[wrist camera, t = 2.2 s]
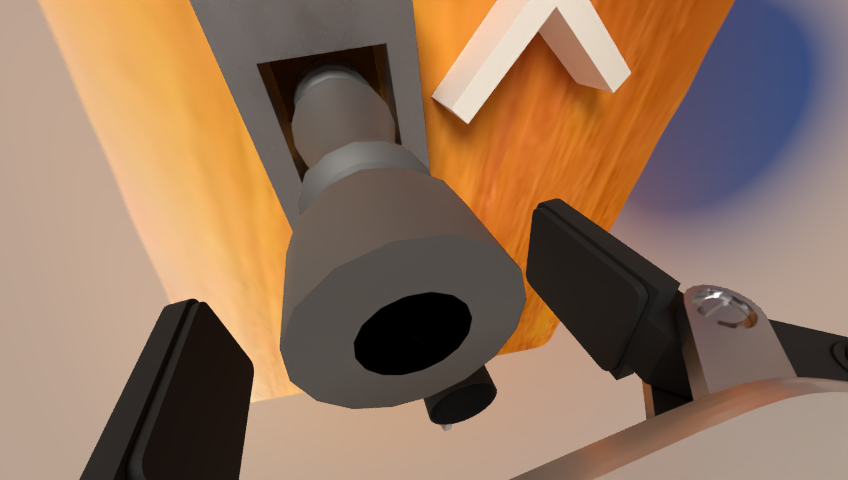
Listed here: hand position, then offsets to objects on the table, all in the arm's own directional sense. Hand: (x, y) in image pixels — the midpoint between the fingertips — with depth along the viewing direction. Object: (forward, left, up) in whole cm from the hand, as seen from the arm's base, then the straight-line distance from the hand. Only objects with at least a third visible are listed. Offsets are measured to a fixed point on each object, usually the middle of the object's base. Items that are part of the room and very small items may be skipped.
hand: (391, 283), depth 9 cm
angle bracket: (-3, +17, -23) cm, 29 cm away
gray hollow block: (0, 0, -23) cm, 23 cm away
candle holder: (0, 0, -23) cm, 23 cm away
